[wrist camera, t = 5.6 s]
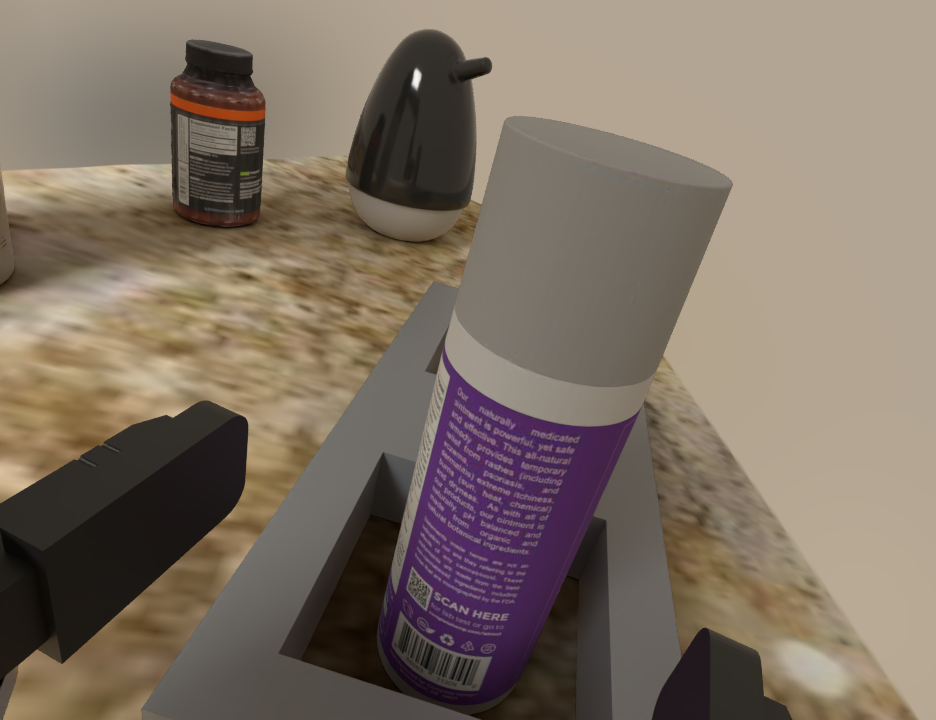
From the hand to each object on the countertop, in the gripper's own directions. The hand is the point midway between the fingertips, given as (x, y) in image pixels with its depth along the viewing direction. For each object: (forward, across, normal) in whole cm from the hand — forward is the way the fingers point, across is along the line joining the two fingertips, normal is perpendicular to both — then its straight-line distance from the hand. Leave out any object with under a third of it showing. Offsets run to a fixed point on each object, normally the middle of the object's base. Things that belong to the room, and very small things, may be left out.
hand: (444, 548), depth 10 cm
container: (+5, 0, +9) cm, 11 cm away
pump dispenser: (+38, +18, +9) cm, 44 cm away
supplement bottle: (+28, +28, +9) cm, 41 cm away
